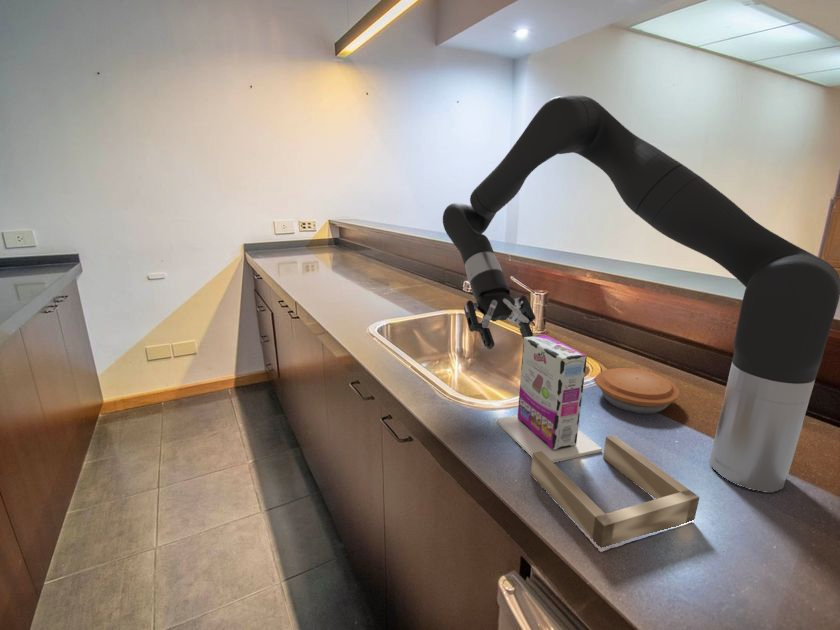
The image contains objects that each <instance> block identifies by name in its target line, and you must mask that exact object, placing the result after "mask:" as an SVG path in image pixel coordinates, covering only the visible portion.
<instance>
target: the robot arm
mask: <svg viewBox="0 0 840 630" xmlns="http://www.w3.org/2000/svg"><path fill="white" fill-rule="evenodd" d="M571 153H573V154H576V155H579V156H581V157H582V158H584V159H586V160H588V161H589V162H591V163H592V164H594V165H595V166H596V167H597V168H599V169H600V170H602V172H604V173H605V174H606V175H607V176H608V178H609V179H610V181H611V182H612V184H613V185H614V187H615V189H616V191H617V193H618V194H619V196H620V198H621V199H622V201H623V202H624V203H625V205H626V206H627V207H628V208H629V209H630V210H631V211H632V212H633V213H634V214H635V215H636V216H638V217H640V219H642V220H643V221H644V222H646V223H647V224H648V225H649V226H651V227H652V228H653V229H655V231H658V233H660V234H662V235H663V236H665V237H667V238H669V239H670V240H672V241H674V242H675V243H679V244H680V245H682V246H684V247H686V248H689V249H690V250H692V251H695V252H697V253H699V254H702V255H703V256H706V257H708V258H709V259H711V260H713V262H715V263H717V264H718V265H719V266H721V267H722V268H723V269H724V270H726V271H727V272H729V273H730V274H731V275H732V276H733V277H734V278H735V279H737V280H738V281H739V283H741V285H743V286H744V287H745V290H744V292H743V293H744V294H743V297H742V301H741V305H740V306H741V307H740V311H739V316H738V320H737V325H736V331H735V335H734V341H733V356H732V359H731V360H732V361H731V365H730V369H729V373H728V378H727V383H726V386H725V391H724V396H723V401H722V405H721V408H720V409H721V410H720V412H719V413H720V414H719V417H718V423H717V426H716V432H715V435H714V440H713V443H712V447H711V452H710V457H709V462H710V463H709V465H710V464H711V465H710V467H711V466H712V467H713V469H714V470H716V471H717V472H718V473H719V474H721V475H722V476H723V477H725V478H726V479H728V480H729V481H731V482H734V483H736V484H739V485H742V486H744V487H747V488H751V489H755V490H759V491H767V492H766V493H775V492H774V491H777V492H779V491H778V490H780V489H781V490H782V489H784V486H785V484H786V477H787V476H788V477H789V475H790V474H789V473H790V469H791V467H792V464H793V460H794V456H795V454H796V453H795V452H796V449H797V446H798V444H799V439H800V437H801V432H802V429H803V424H804V419H805V417H806V413H807V410H808V407H809V403H810V399H811V396H812V393H813V392H812V391H813V388H814V385H815V381H816V379H817V375H818V373H819V369H820V366H821V363H822V360H823V357H824V356H823V355H824V352H825V349H826V344H827V341H828V338H829V336H830V332H831V328H832V326H833V322H834V318H835V315H836V311H837V308H838V305H839V301H840V274H839V273H838V271H837V270H836V269H835V267H834V266H833V265H832V264H830V263H829V262H828V261H826V260H824V259H823V258H820V257H818V256H817V255H814V254H813V253H811V252H809V251H807V250H805V249H803V248H802V247H799V246H798V245H796V244H794V243H793V242H791V241H789V240H787V239H785V238H783V237H781V236H780V235H778V234H776V233H774V232H772V231H771V230H769V229H768V228H766V227H765V226H763V225H762V224H760V222H759V223H758V222H757V221H756V220H755V219H754V218H752V217H751V216H750V215H749V214H748V213H746V212H745V211H744V210H743V209H742V208H741V207H739V205H737V204H736V203H735V202H734V201H732V199H730V198H729V197H727V196H726V195H725V194H724V193H722V192H721V191H720V190H718V189H717V188H716V187H715V186H713V185H712V184H711V183H710V182H708V181H707V180H705V179H704V178H703V177H701V176H700V175H698V173H696V172H695V171H693V170H691V169H690V168H689V167H687V166H686V165H684V164H682V163H681V162H680V161H678V160H676V159H674V158H673V157H671V156H670V155H668V154H667V153H666V152H663V151H662V150H660V149H659V148H658V147H656V146H654V145H653V144H651V143H650V142H648V141H646V140H644V139H643V138H640V137H639V136H637V135H635V134H634V133H633V132H631V131H630V130H629V129H628V128H627V127H625V126H624V124H622V123H621V122H620V121H619V120H617V118H615V116H613V114H611V113H610V112H609V111H608V110H606V108H605V107H603V106H602V105H601V104H600V103H599V102H598V101H596V100H595V99H593V98H591V97H588V96H586V95H558V96H555V97H552V98H550V99H549V100H548V101H546V102H545V103H544V104H543V105H542V106H541V107H540V108H539V110H538V111H537V113H536V114H535V115H534V116H533V118H531V120H530V122H529V123H528V125H527V126H526V128H525V129H524V131H523V132H522V134H521V135H520V136H519V138H517V141H516V142H515V143H514V144H513V146H512V147H511V148H510V150H509V151H508V152H507V154H506V155H505V156H504V157H503V159H502V160H501V161H500V162H499V164H497V166H496V167H495V168H494V169H493V170H492V171H491V172H490V173H489V174H488V175H487V176H486V177H485V178H484V179H483V180H482V181H481V182H480V183H479V184H478V185H477V186H476V187H475V189H473V190H472V192H471V194H470V198H469V202H470V205H468V204H464V203H459V202H454V203H451V204H449V205H448V206H446V207H445V209H444V211H443V214H442V224H443V228H444V231H445V232H446V234H447V236H448V238H449V239H450V240H451V242H452V244H453V245H454V246H455V247H456V249H457V250H458V252H459V253H460V256H461V258H462V261H463V265H464V268H465V272H466V273H465V274H466V278H467V281H468V283H469V285H470V288H471V293H472V294H473V297H474V300H475V302H473V300H467V301H466V303H465V306H464V307H463V311H464V314H465V318H466V323H467V326H468V330H469V331H470V332H478V334H480V338H481V340H482V343H483V346H484V347H485V348H487V350H491V349H493V348H494V346H495V341H494V338H493V334H492V333H491V330H490V328H489V323H490V321H492V322H497V321H506V320H508V321H509V322H510V323H513V324H515V325H516V326H517V327H518V328H519V332H520V335H521V337H522V340H523V341H524V337H531V336H534V334H533V331H532V328H531V326H530V325H531V324H532V323H533V321H534V320H535V319H536V315H535V314H534V311H533V309H532V307H531V305H530V302H529V301H528V299H527V296H526V295H524V294H522V295H521V296H519V297H517V298H514V297H513V296H512V295H511V291H510V287H509V285H508V282H507V279H506V277H505V274H504V272H503V269H502V267H501V264H500V262H499V259H498V258H497V257H496V254H495V252H494V250H493V246H492V243H491V241H490V240H489V238H488V237H487V236H486V235H485V234H483V233H485V231H486V230H487V229H488V227H489V226H490V224H491V223H492V221H493V219H494V218H495V216H496V215H497V213H498V212H499V211H500V210H501V209H503V208H504V207H505V206H506V205H507V204H509V202H510V201H512V199H514V198H515V197H516V196H517V194H519V191H521V188H522V187H523V185H524V183H525V181H526V180H527V178H528V177H529V176H530V174H531V173H532V172H533V171H535V170H536V169H537V168H538V167H539V166H540V165H542V164H544V163H545V162H547V161H549V160H550V159H551V158H553V157H555V156H557V155H565V154H571ZM477 311H479V312H480V313H481V314H482V315H483V316H482V318H481V321H480V322H479V320H478V317H477V313H476V312H477ZM712 467H711V468H712ZM713 469H712V470H713ZM714 470H713V471H714ZM723 477H722V478H723ZM788 477H787V478H788ZM726 479H725V480H726ZM728 480H727V481H728ZM729 481H728V482H729ZM731 482H730V483H731ZM736 484H735V485H736ZM781 490H780V491H781ZM759 491H758V492H759Z"/></svg>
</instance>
